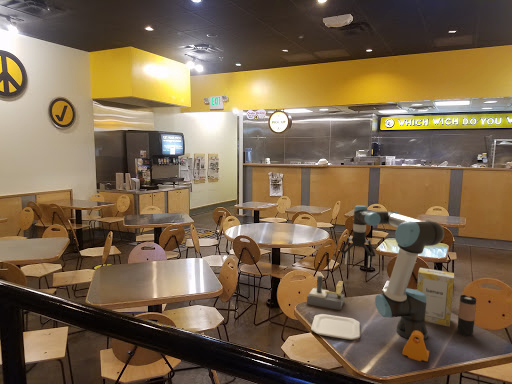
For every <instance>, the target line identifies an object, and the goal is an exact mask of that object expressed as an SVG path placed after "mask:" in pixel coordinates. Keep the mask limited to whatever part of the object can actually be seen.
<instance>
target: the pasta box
mask: <svg viewBox="0 0 512 384" xmlns="http://www.w3.org/2000/svg"><path fill="white" fill-rule="evenodd" d="M454 283H455V272H450V271H443V270H438V269H430V268H425V267H419V269H418V274H417V286H416V290H417V291H420V292H422V293H424V294H425V295H426V302H427V303H426V312H425V323H426V322H427V323H430V324H435V325H440V326H445V327H449V328H450V327H451V317H452V304H453V297H454V296H453V294H454V285H455V284H454Z"/></svg>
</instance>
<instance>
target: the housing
mask: <svg viewBox="0 0 512 384" xmlns="http://www.w3.org/2000/svg"><path fill="white" fill-rule="evenodd" d="M310 292H311V290H310V291H309V293H310ZM309 293H308V294H307V295H306V296H307V297H306V305H311V306H315V307H321V308H328V309H333V310H338V311H342V308H343V306H344V303H345V294H343V293H341V298H337V295H336V294H330V293H328V294H327V296H326V298H320V297H314V296H309Z"/></svg>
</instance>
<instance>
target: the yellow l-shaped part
mask: <svg viewBox="0 0 512 384" xmlns="http://www.w3.org/2000/svg"><path fill="white" fill-rule="evenodd" d="M343 285H344V281H343V280H338V282H337V284H336V286H335V292H334V291H325V293H330V294H336V295H337V298H341V294H342V291H343Z"/></svg>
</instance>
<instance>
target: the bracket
mask: <svg viewBox="0 0 512 384" xmlns="http://www.w3.org/2000/svg"><path fill="white" fill-rule="evenodd" d="M415 337H418V338H419V340H418V339H415ZM423 339H424V336H423V334H422V333H421V332H420V331H413V332H412V334H411V336H410V338H409V339H408V340H407V342H405V344H404V346H403V348H402V355H403V356H407V357H408V359H411V360H416V361H418V362H422V361H424V362H429V357H430V350H427V346H426V344H425V339H424V340H423Z"/></svg>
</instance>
